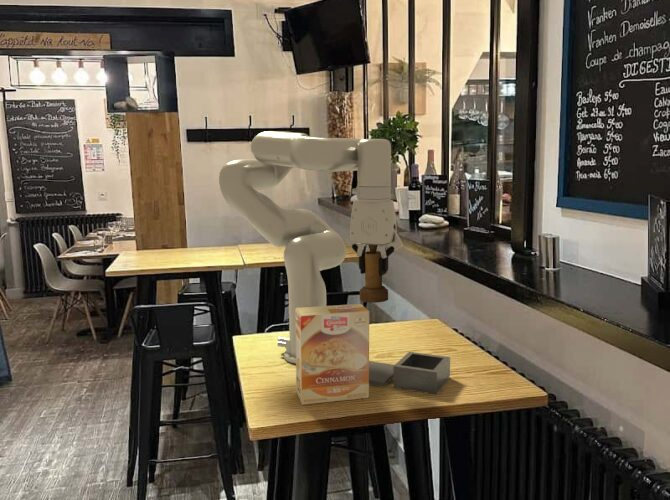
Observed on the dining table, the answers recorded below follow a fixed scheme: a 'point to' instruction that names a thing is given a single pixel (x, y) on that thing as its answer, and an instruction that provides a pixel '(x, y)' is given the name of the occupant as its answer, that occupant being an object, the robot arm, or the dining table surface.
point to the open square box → (421, 372)
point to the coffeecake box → (332, 353)
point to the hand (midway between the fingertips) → (373, 272)
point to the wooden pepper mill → (373, 278)
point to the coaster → (380, 373)
